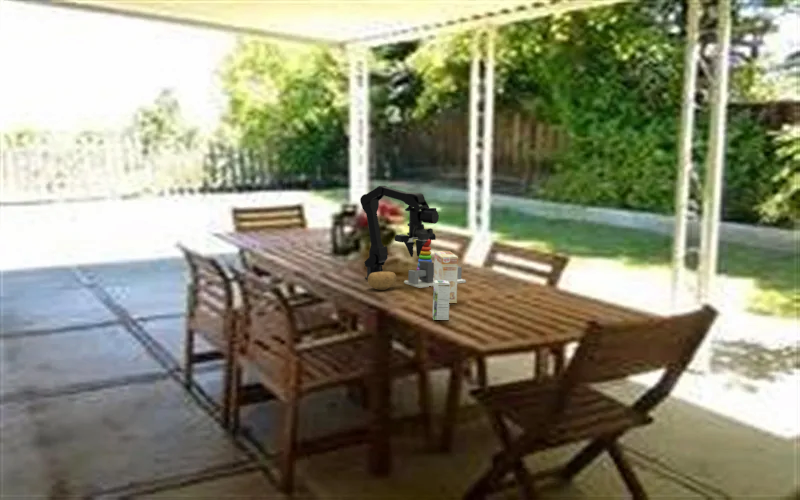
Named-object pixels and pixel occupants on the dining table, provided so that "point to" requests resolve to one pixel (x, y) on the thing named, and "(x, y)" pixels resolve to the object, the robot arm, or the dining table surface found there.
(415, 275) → the pipe rig
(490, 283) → the dining table surface
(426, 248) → the stacking toy
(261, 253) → the dining table surface
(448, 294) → the syrup box
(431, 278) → the collar
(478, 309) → the dining table surface
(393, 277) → the potato
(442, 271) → the coffeecake box
